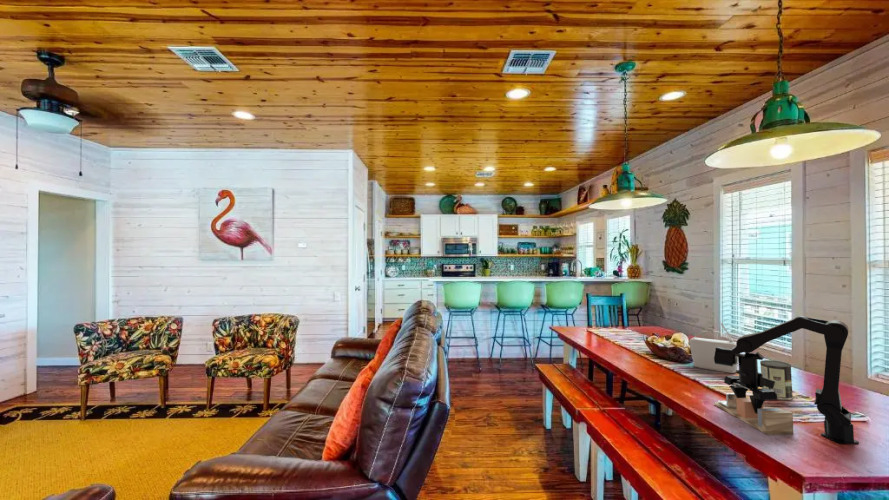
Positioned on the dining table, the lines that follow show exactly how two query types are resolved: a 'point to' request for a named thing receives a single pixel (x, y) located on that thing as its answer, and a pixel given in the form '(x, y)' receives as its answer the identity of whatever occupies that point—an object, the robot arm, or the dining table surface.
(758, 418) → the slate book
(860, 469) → the dining table surface
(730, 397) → the bookend
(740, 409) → the terracotta book
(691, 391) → the dining table surface
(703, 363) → the radio
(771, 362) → the coffee can
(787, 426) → the beige piece
